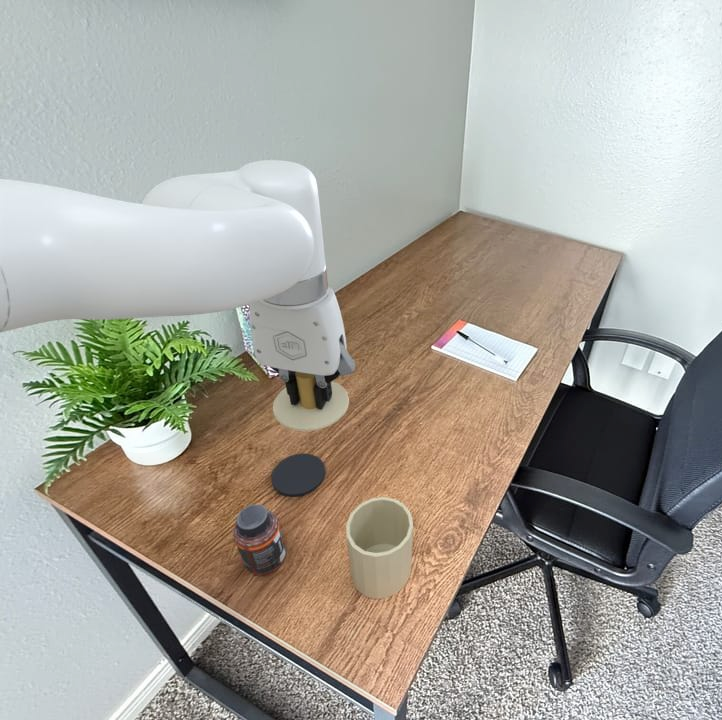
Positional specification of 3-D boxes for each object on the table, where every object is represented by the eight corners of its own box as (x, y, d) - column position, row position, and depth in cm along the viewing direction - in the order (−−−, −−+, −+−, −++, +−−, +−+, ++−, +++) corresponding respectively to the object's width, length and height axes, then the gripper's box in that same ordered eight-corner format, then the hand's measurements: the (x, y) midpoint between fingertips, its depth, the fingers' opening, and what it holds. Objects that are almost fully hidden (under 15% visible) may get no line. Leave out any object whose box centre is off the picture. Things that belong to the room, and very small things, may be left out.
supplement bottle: (295, 554, 72) (284, 512, 65) (262, 585, 68) (247, 544, 61) (269, 533, 74) (256, 490, 67) (236, 562, 70) (218, 520, 63)
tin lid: (270, 437, 59) (260, 400, 55) (277, 386, 66) (270, 350, 62) (349, 430, 61) (346, 394, 57) (348, 381, 69) (345, 346, 65)
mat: (269, 500, 79) (268, 497, 78) (274, 459, 86) (273, 456, 85) (325, 493, 81) (324, 490, 81) (325, 453, 88) (325, 450, 87)
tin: (352, 604, 67) (347, 561, 60) (350, 547, 74) (345, 501, 66) (414, 592, 70) (416, 549, 62) (407, 538, 76) (408, 493, 69)
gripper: (201, 286, 49) (238, 409, 60) (352, 310, 49) (360, 430, 60) (238, 255, 55) (266, 373, 66) (373, 276, 54) (377, 391, 66)
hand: (311, 399), depth 63 cm, fingers closed on tin lid, 2 cm apart
